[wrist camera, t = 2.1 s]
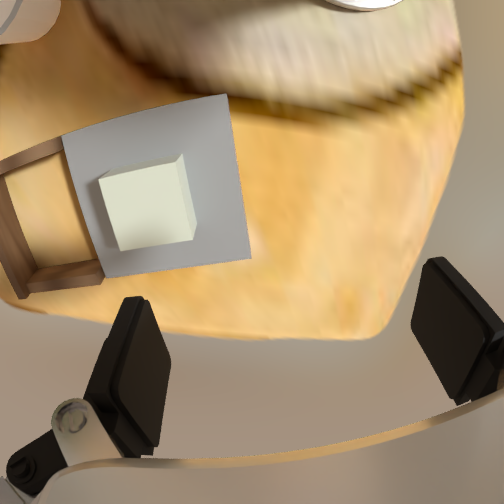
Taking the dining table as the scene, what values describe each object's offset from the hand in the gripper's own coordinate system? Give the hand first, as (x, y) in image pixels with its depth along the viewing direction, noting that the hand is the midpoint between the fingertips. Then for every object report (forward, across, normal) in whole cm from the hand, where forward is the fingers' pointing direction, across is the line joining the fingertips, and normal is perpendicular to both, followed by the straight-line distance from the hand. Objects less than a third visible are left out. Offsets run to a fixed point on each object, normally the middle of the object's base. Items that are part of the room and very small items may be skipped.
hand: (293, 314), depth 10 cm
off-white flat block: (+16, +8, 0) cm, 18 cm away
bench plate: (+18, +8, 0) cm, 20 cm away
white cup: (+19, +18, -20) cm, 32 cm away
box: (+18, +21, +1) cm, 28 cm away
